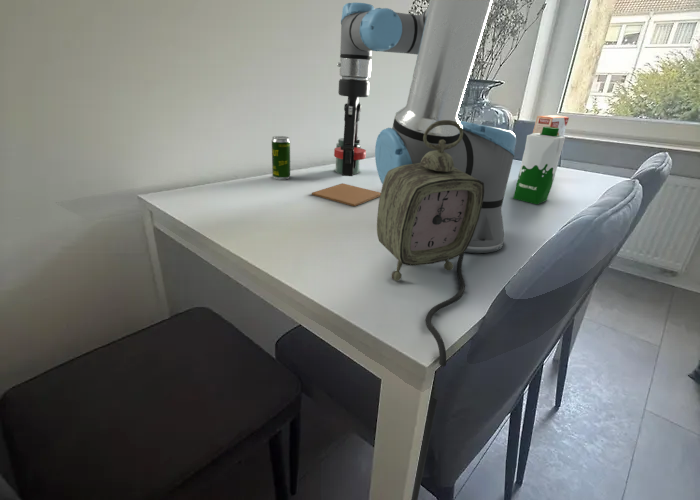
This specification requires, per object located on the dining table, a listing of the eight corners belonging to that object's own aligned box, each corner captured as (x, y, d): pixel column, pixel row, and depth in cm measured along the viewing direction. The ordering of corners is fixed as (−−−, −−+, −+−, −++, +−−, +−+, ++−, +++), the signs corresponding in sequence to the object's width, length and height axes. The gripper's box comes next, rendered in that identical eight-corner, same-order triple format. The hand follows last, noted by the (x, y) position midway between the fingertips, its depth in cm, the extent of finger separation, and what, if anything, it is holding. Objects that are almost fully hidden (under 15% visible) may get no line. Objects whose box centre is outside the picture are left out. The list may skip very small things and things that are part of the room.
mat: (354, 206, 98) (354, 204, 97) (311, 194, 105) (311, 192, 104) (382, 195, 108) (383, 193, 108) (342, 185, 115) (342, 183, 115)
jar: (350, 175, 126) (351, 142, 122) (330, 171, 130) (331, 139, 126) (363, 172, 132) (365, 140, 128) (344, 167, 136) (346, 137, 132)
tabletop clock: (390, 288, 61) (421, 127, 49) (365, 259, 68) (386, 111, 56) (462, 274, 67) (506, 127, 55) (432, 248, 74) (464, 113, 62)
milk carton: (551, 200, 113) (571, 129, 105) (539, 206, 107) (559, 131, 99) (521, 193, 118) (538, 125, 110) (508, 198, 112) (525, 126, 104)
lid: (342, 160, 97) (342, 153, 96) (328, 153, 104) (329, 147, 103) (371, 159, 101) (371, 152, 100) (356, 152, 107) (357, 146, 107)
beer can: (283, 174, 123) (283, 135, 118) (293, 178, 119) (293, 138, 114) (269, 176, 119) (267, 136, 114) (278, 180, 116) (278, 139, 111)
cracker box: (537, 180, 135) (553, 117, 127) (520, 176, 139) (535, 115, 131) (553, 175, 144) (570, 116, 135) (537, 172, 148) (552, 114, 139)
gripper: (343, 77, 104) (339, 162, 114) (333, 78, 85) (329, 180, 95) (371, 79, 104) (365, 164, 113) (367, 80, 85) (360, 182, 94)
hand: (349, 171), depth 104 cm, fingers closed on lid, 8 cm apart
